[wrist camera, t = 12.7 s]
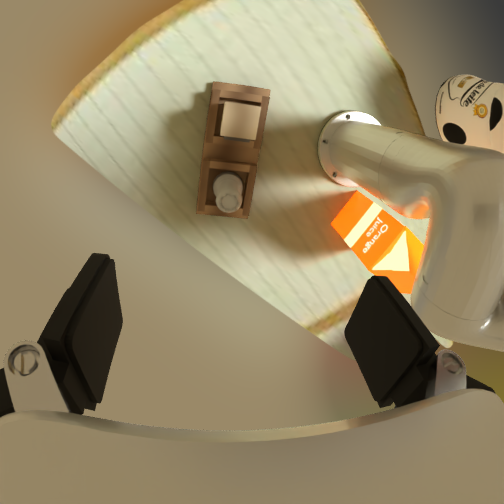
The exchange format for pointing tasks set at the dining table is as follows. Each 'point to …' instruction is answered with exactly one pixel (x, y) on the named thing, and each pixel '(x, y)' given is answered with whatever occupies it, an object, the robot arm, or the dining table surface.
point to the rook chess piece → (228, 191)
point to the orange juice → (380, 241)
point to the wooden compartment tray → (232, 142)
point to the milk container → (471, 112)
